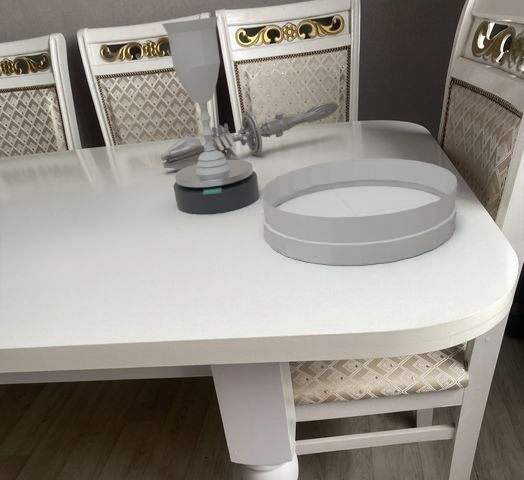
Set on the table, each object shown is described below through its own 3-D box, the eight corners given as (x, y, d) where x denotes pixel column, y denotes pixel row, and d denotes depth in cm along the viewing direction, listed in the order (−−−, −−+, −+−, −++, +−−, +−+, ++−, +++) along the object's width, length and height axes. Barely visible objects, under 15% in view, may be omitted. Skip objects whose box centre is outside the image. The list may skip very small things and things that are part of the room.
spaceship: (350, 96, 93) (328, 75, 97) (165, 154, 86) (150, 129, 90) (346, 136, 100) (326, 114, 104) (174, 193, 93) (159, 168, 97)
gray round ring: (282, 280, 52) (277, 232, 49) (251, 211, 71) (247, 174, 68) (494, 244, 54) (501, 196, 51) (410, 187, 72) (411, 149, 70)
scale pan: (171, 191, 70) (170, 185, 70) (180, 169, 79) (179, 164, 79) (252, 182, 70) (252, 176, 69) (253, 161, 79) (252, 156, 78)
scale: (171, 219, 71) (167, 196, 70) (182, 192, 82) (178, 172, 80) (259, 210, 71) (256, 186, 69) (258, 184, 81) (256, 163, 79)
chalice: (206, 162, 78) (183, 20, 68) (246, 163, 75) (228, 15, 65) (178, 176, 73) (150, 25, 63) (220, 178, 70) (197, 19, 60)
